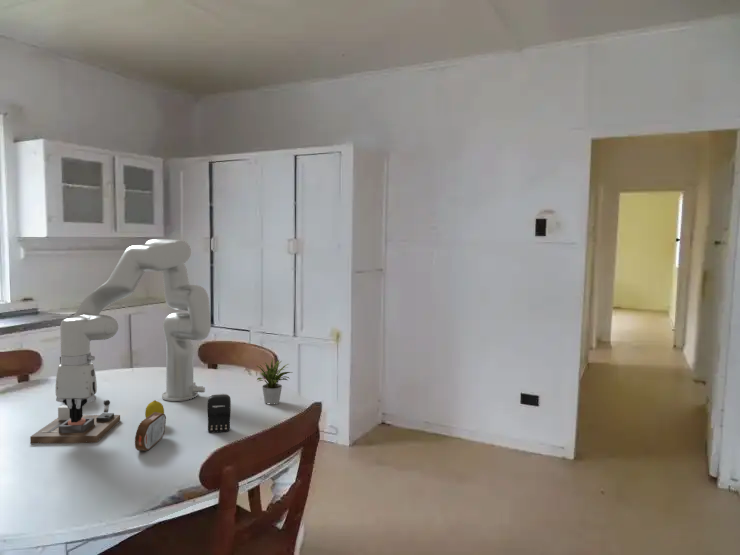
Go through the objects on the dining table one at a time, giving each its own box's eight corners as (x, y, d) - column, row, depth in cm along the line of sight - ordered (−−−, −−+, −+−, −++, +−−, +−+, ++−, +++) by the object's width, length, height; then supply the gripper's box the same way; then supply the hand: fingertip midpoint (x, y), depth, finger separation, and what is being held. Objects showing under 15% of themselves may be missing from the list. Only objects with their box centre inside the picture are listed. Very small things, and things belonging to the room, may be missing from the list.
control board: (120, 420, 168) (120, 408, 168) (96, 442, 151) (96, 429, 150) (61, 421, 167) (61, 409, 166) (30, 443, 149) (30, 429, 149)
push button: (88, 424, 158) (88, 417, 158) (81, 429, 154) (81, 423, 153) (72, 424, 158) (72, 417, 157) (65, 429, 153) (64, 423, 153)
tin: (157, 435, 158) (157, 407, 157) (168, 435, 158) (167, 408, 157) (133, 455, 143) (133, 425, 142) (145, 456, 143) (144, 425, 142)
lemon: (167, 423, 167) (167, 399, 167) (155, 429, 162) (155, 404, 162) (153, 421, 169) (153, 396, 169) (141, 426, 164) (141, 401, 163)
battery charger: (206, 434, 159) (206, 397, 158) (207, 429, 163) (207, 393, 162) (230, 433, 161) (230, 396, 160) (230, 428, 164) (230, 393, 163)
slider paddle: (75, 417, 164) (75, 405, 164) (71, 420, 162) (71, 407, 162) (62, 417, 164) (61, 405, 164) (58, 420, 162) (58, 407, 161)
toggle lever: (109, 412, 165) (111, 399, 166) (107, 412, 163) (109, 399, 164) (103, 412, 165) (105, 400, 166) (101, 412, 163) (103, 399, 164)
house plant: (261, 412, 180) (262, 366, 179) (242, 402, 190) (243, 358, 189) (296, 404, 189) (297, 360, 188) (276, 395, 200) (277, 353, 198)
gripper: (107, 357, 158) (107, 416, 160) (55, 356, 157) (56, 416, 158) (96, 363, 151) (97, 425, 152) (42, 362, 150) (43, 425, 151)
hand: (76, 420), depth 155 cm, fingers closed
